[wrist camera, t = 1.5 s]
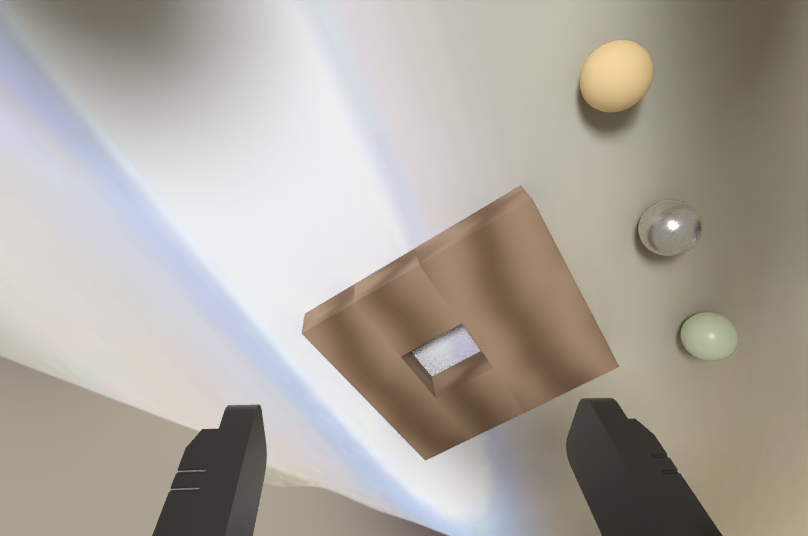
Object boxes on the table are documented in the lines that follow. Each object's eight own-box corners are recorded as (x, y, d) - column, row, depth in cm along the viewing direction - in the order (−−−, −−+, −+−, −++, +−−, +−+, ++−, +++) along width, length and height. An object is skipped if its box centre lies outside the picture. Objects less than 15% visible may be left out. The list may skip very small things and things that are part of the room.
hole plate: (520, 185, 33) (532, 198, 31) (605, 347, 41) (619, 366, 39) (305, 313, 37) (301, 333, 35) (422, 438, 45) (425, 460, 43)
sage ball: (710, 295, 40) (744, 323, 36) (721, 326, 41) (754, 356, 38) (665, 317, 40) (693, 347, 37) (677, 347, 42) (705, 378, 39)
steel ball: (672, 181, 34) (708, 202, 31) (686, 223, 36) (721, 247, 32) (620, 210, 35) (649, 233, 31) (637, 249, 37) (666, 275, 33)
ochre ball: (620, 23, 28) (656, 27, 25) (639, 82, 30) (675, 93, 27) (559, 62, 29) (586, 71, 26) (582, 117, 31) (610, 132, 28)
